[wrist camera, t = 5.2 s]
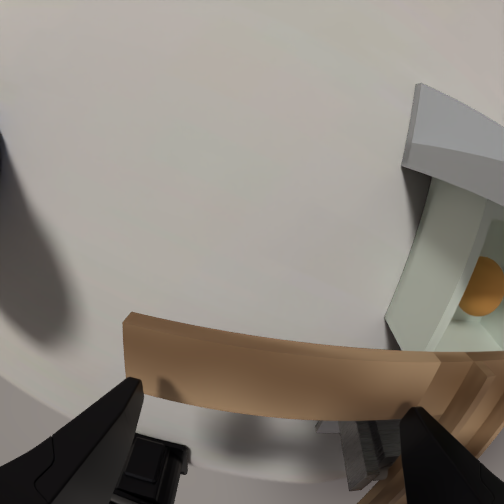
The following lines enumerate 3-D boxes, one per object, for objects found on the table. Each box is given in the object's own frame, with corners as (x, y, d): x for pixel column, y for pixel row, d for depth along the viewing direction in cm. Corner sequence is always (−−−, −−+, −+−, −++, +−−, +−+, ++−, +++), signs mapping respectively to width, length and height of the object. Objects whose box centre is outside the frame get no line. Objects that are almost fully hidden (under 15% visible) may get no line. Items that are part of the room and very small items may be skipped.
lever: (391, 514, 15) (398, 538, 12) (156, 508, 15) (148, 536, 12) (521, 345, 10) (550, 371, 8) (136, 306, 10) (101, 348, 7)
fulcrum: (418, 422, 20) (440, 485, 13) (315, 426, 20) (323, 505, 13) (466, 357, 17) (507, 424, 10) (353, 354, 17) (382, 451, 10)
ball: (513, 254, 11) (478, 268, 14) (479, 244, 11) (442, 260, 14) (515, 314, 10) (477, 320, 13) (481, 310, 10) (441, 317, 13)
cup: (477, 325, 16) (508, 366, 12) (384, 317, 16) (411, 371, 11) (522, 214, 13) (568, 240, 8) (432, 176, 12) (487, 198, 8)
